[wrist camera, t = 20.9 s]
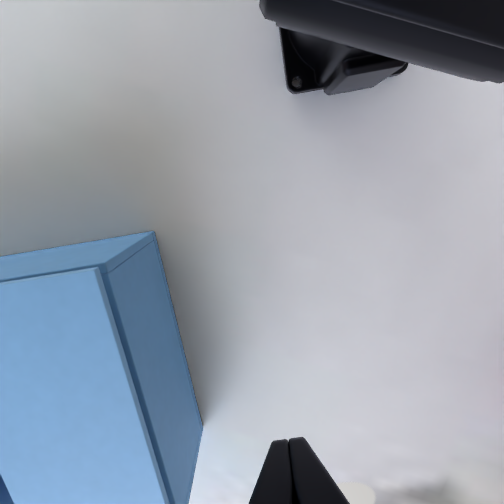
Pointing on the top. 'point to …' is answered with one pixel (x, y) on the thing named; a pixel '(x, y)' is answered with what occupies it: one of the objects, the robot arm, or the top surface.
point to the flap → (69, 398)
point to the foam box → (136, 343)
